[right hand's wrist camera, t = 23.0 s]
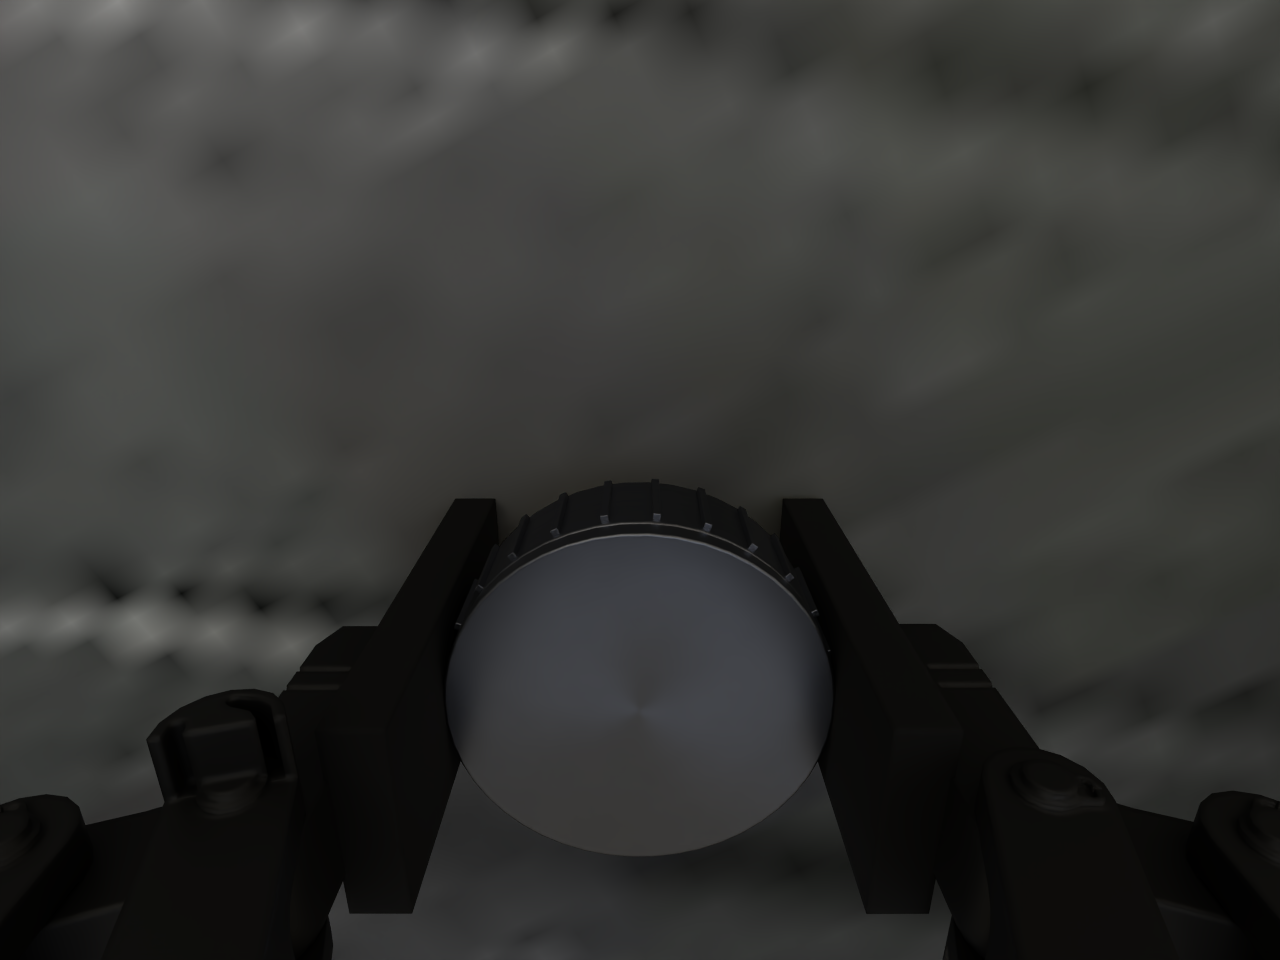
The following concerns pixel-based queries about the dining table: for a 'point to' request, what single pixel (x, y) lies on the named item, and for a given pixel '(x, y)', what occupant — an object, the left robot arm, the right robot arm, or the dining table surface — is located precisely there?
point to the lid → (639, 672)
